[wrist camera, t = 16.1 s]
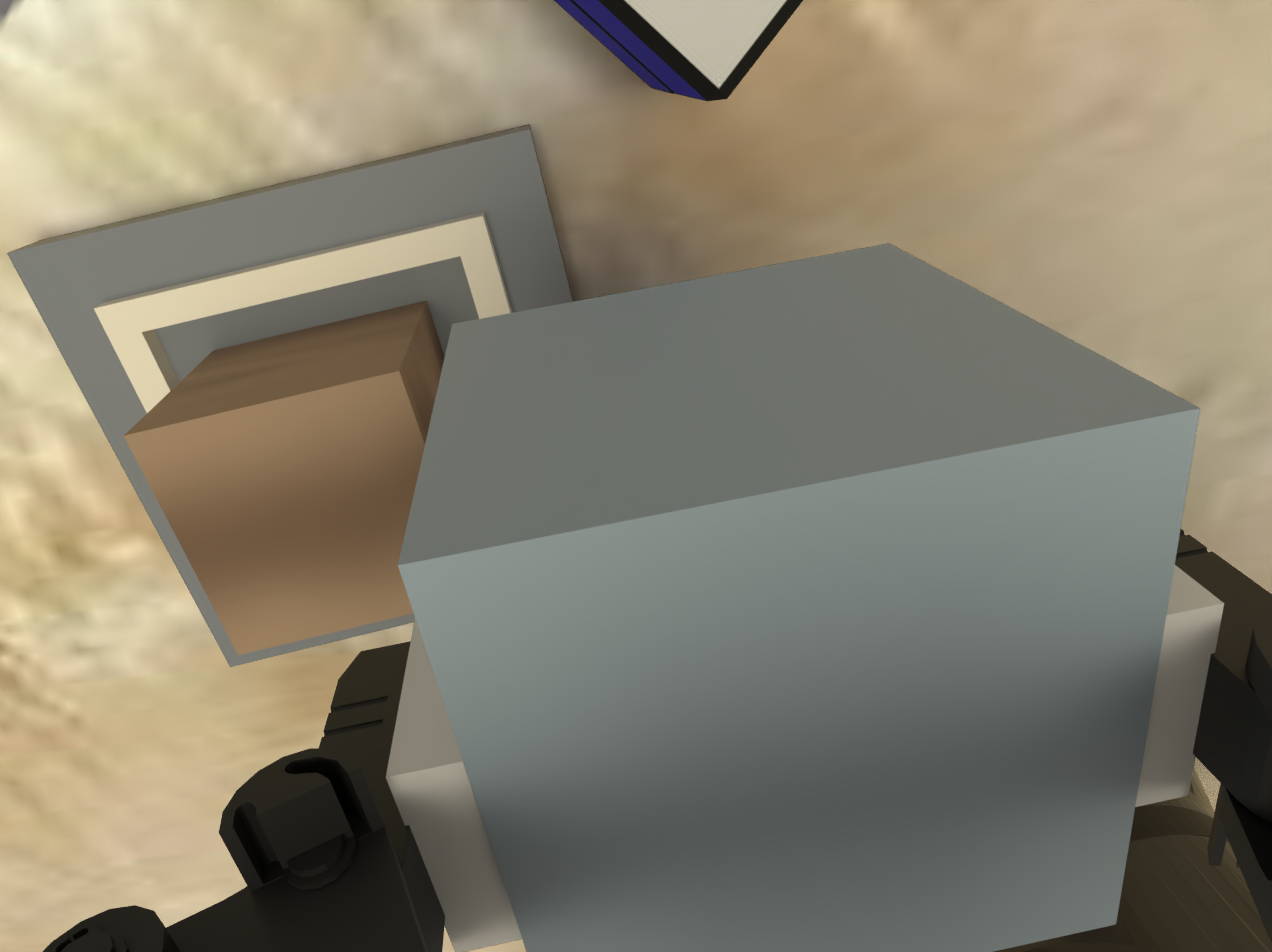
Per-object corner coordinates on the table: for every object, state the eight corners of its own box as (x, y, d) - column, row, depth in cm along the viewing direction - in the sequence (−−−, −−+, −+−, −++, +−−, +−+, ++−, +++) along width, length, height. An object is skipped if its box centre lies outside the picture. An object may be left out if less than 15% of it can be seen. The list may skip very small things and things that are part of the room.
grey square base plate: (632, 541, 35) (640, 578, 32) (245, 635, 35) (223, 680, 32) (529, 124, 28) (529, 131, 25) (40, 240, 28) (-8, 258, 25)
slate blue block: (895, 600, 17) (1116, 923, 11) (542, 672, 17) (558, 1048, 10) (888, 243, 14) (1200, 409, 7) (452, 323, 13) (397, 565, 7)
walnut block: (486, 488, 31) (478, 597, 25) (295, 534, 31) (238, 655, 25) (426, 300, 28) (399, 370, 22) (213, 350, 28) (123, 435, 21)
